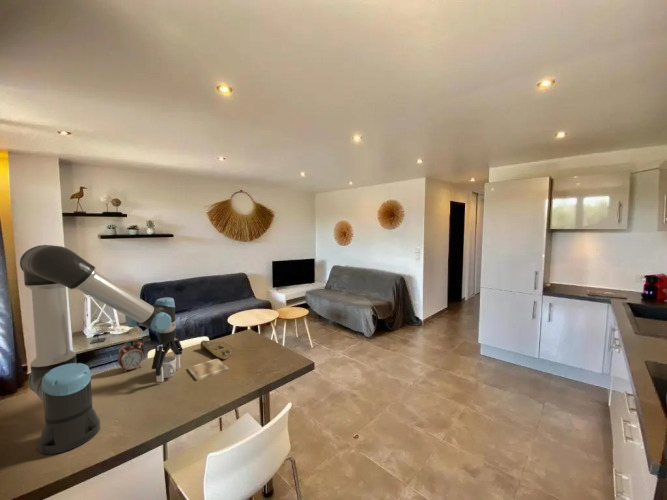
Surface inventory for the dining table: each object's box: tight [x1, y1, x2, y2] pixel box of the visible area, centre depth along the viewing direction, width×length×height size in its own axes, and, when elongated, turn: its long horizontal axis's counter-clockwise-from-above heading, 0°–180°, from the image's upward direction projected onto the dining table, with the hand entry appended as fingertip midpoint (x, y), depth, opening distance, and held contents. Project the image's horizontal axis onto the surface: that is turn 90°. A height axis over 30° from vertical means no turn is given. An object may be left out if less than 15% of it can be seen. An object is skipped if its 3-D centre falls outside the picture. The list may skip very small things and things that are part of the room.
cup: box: [162, 355, 177, 379], centre depth 134 cm, size 11×8×8 cm
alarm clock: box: [117, 339, 146, 373], centre depth 142 cm, size 11×5×15 cm, turn 144°
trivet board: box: [187, 357, 229, 381], centre depth 141 cm, size 15×15×1 cm
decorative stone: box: [200, 340, 235, 360], centre depth 162 cm, size 25×15×5 cm, turn 47°
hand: (169, 374), depth 135 cm, fingers open, 12 cm apart
